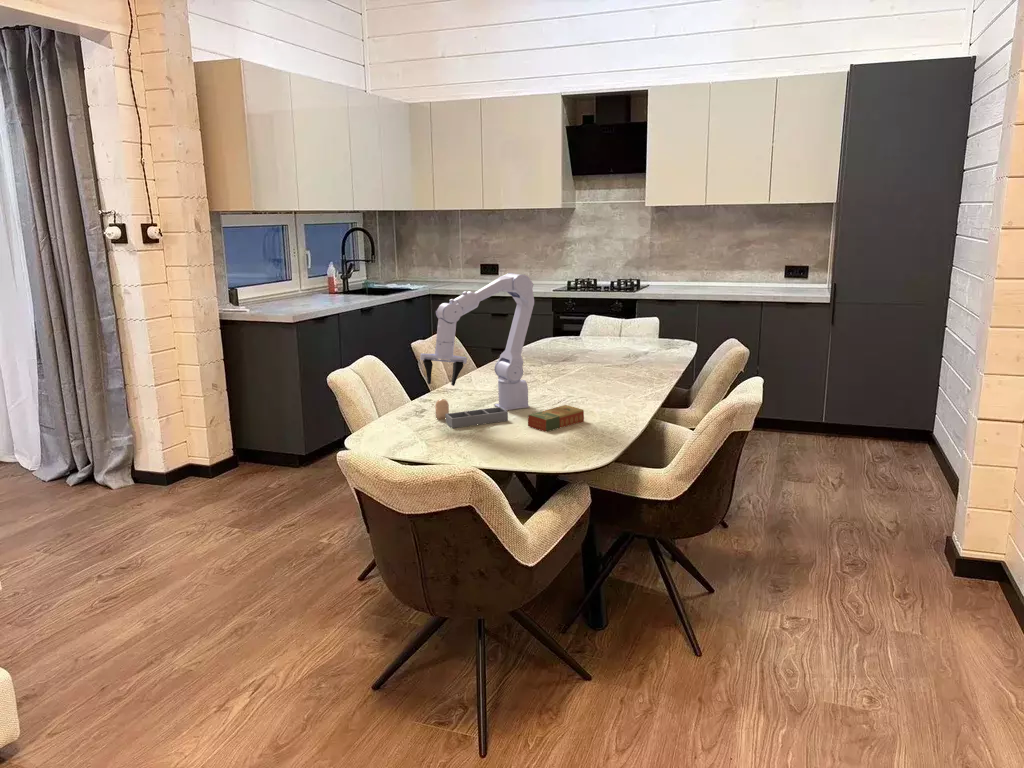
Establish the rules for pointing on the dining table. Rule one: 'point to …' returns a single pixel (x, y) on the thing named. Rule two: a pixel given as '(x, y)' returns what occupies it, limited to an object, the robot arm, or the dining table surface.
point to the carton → (556, 418)
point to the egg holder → (476, 417)
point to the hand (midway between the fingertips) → (441, 384)
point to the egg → (441, 408)
